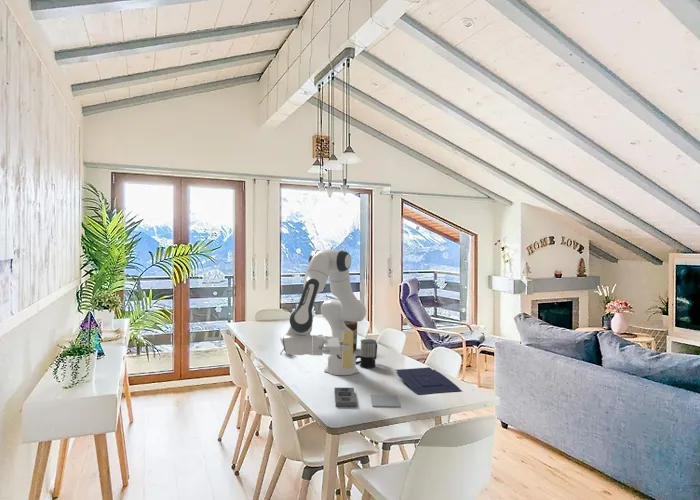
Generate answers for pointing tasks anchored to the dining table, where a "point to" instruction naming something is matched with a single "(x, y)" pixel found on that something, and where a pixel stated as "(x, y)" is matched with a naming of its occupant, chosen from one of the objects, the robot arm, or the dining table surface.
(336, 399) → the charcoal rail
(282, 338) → the purple daisy flower
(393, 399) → the grey mat
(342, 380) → the dining table surface
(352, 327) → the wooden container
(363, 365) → the milk frother
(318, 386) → the dining table surface
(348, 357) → the brass peg
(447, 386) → the navy flat rectangular piece
